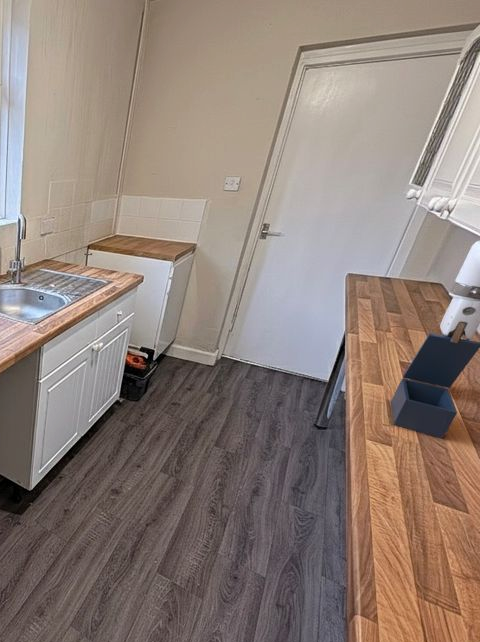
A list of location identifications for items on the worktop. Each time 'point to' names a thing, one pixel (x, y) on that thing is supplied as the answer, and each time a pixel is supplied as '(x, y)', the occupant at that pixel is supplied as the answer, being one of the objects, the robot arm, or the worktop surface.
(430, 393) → the chest
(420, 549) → the worktop surface
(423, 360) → the lid
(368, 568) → the worktop surface
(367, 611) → the worktop surface
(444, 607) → the worktop surface
